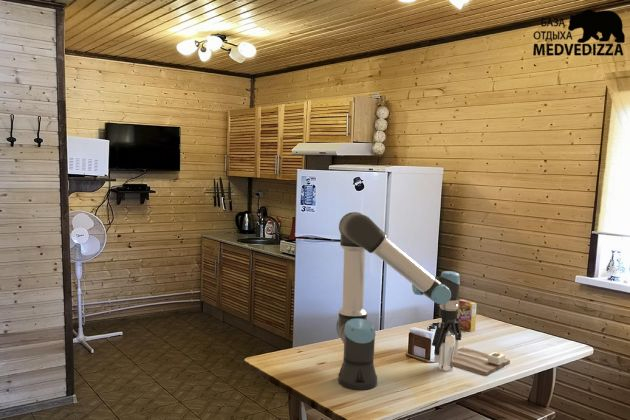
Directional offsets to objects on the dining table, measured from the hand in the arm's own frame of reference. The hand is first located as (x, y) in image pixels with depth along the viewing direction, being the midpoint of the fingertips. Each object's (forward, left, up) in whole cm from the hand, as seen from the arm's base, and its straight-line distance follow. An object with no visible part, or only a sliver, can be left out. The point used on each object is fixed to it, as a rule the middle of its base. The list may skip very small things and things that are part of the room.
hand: (446, 358), depth 223 cm
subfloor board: (+17, -4, -4) cm, 18 cm away
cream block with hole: (+20, -13, -2) cm, 24 cm away
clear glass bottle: (0, 0, -5) cm, 5 cm away
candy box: (+61, +23, -5) cm, 65 cm away
